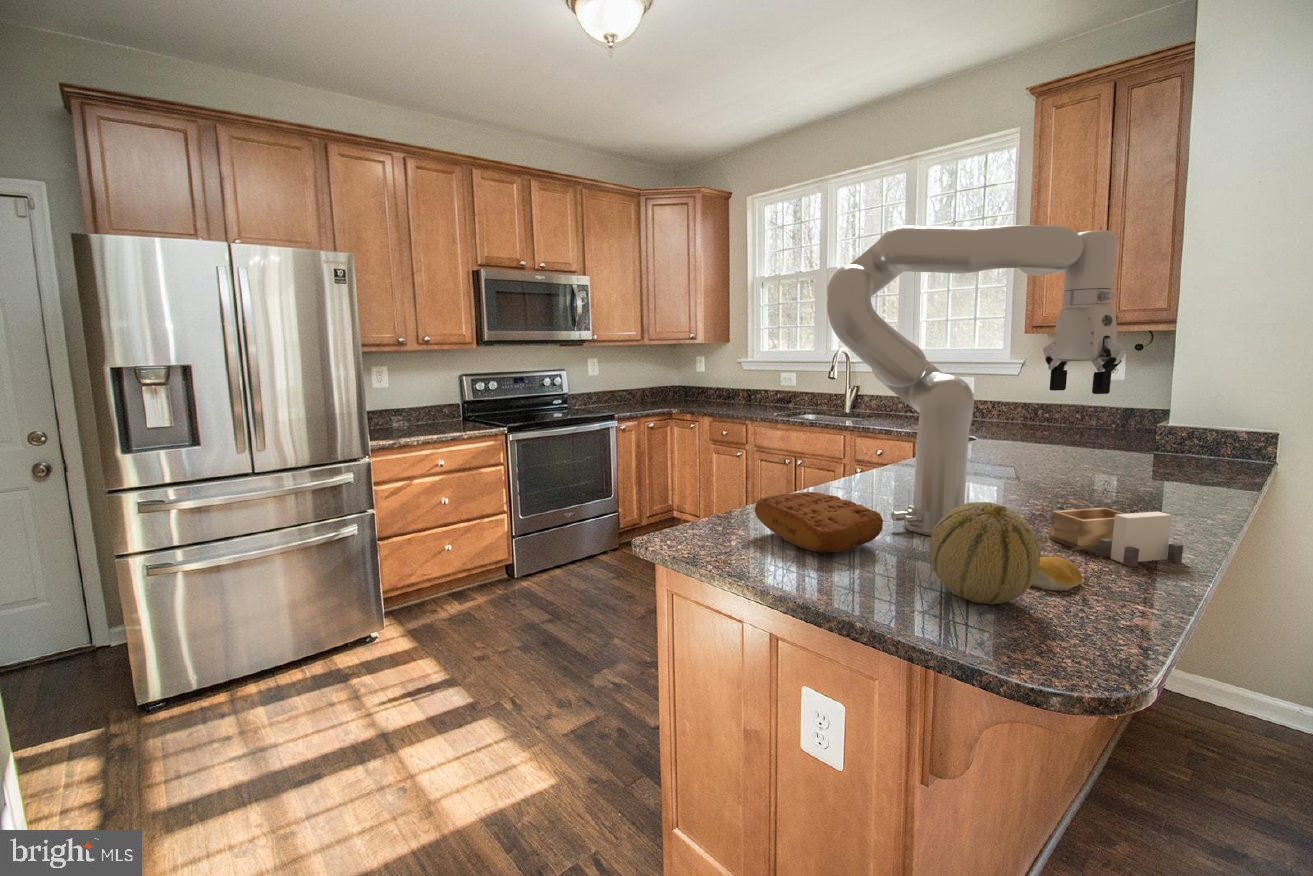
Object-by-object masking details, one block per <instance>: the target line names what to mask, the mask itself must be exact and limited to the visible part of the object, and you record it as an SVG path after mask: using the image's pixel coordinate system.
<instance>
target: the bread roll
mask: <svg viewBox="0 0 1313 876" xmlns="http://www.w3.org/2000/svg"><path fill="white" fill-rule="evenodd" d="M1082 582H1083V575H1082V573H1081V571H1080V570H1079V568H1078V566H1076V565H1075V564H1074V563H1073V562H1072V561H1069V560H1067V559H1065V558H1061V557H1059V556H1043V557H1042V556H1040V563H1039V567H1038V572H1037V575H1036V577H1035V580H1034V582H1033V584H1032V585H1031V587H1032V586H1033V587H1036V588H1039V589H1042V590H1049V591H1069V590H1070V589H1073V588H1076V587H1077V586H1079V585H1081V584H1082Z"/></svg>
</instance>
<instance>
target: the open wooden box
mask: <svg viewBox="0 0 1313 876" xmlns="http://www.w3.org/2000/svg"><path fill="white" fill-rule="evenodd" d="M1116 514H1127V513H1125V512H1121V511H1118V510H1115V509H1111V508H1108V507H1095V508H1082V509H1081V508H1077V509H1067V510H1066V509H1065V510H1052V512H1051V520H1050V521H1051V522H1050V530H1049V531H1050V532H1049V539H1050V540H1052V541H1055V542H1058V543H1060V544H1063V545H1065V546H1068V547H1071V548H1073V549H1076V550H1078V551H1086V552H1088V553H1091V554H1094V555H1096V556H1099V557H1102V558H1111V549H1112V539H1113V529H1114V519H1115V515H1116ZM1183 552H1184V545H1183V544H1180V543H1178V542H1175V543H1169V544H1168V552H1167V559H1166V561H1167V560H1168V561H1167V562H1170V561H1171V562H1170V563H1173V564H1175V563H1174V562H1177V563H1182V561H1183V554H1184V553H1183ZM1138 556H1139V549H1138V548H1135V547H1125V550H1124V559H1123V563H1122V565H1124V566H1126V567H1129V568H1131V567H1138V564H1139V562H1138Z"/></svg>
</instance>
